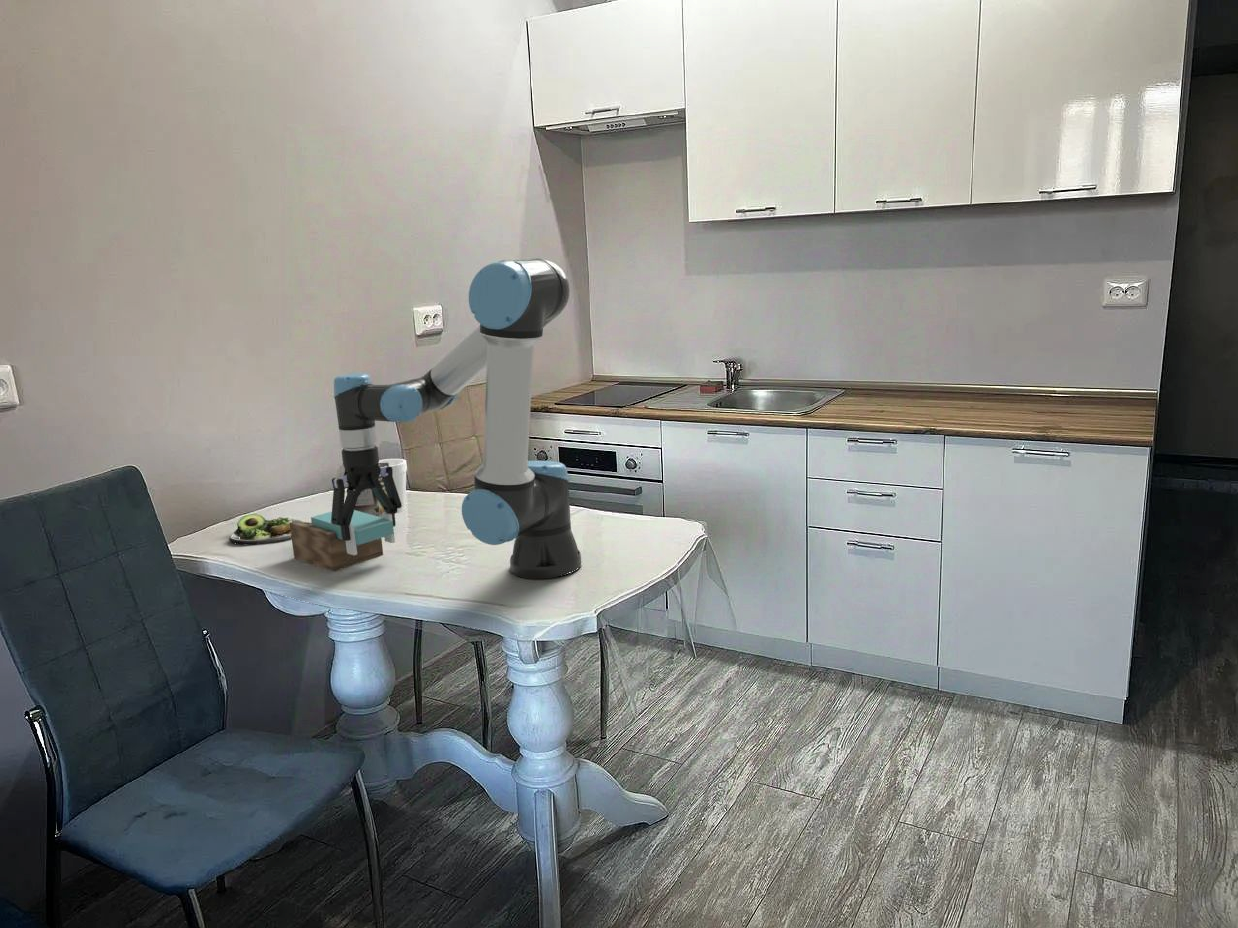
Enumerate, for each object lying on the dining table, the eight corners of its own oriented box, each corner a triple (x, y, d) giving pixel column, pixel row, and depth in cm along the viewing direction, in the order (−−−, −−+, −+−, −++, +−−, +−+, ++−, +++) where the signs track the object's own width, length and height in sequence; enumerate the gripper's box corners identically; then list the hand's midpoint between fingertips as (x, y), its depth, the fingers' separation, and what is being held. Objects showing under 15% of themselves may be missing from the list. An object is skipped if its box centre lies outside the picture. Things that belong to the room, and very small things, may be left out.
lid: (393, 533, 204) (392, 520, 203) (358, 544, 198) (357, 531, 197) (347, 520, 216) (345, 507, 215) (312, 529, 209) (310, 517, 208)
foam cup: (399, 503, 256) (394, 457, 253) (417, 508, 249) (412, 461, 246) (368, 511, 250) (363, 464, 247) (386, 516, 243) (381, 468, 240)
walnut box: (383, 554, 212) (379, 519, 210) (333, 571, 203) (328, 534, 201) (343, 543, 223) (339, 508, 221) (294, 558, 213) (289, 522, 211)
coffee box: (380, 534, 228) (373, 470, 224) (356, 534, 229) (348, 470, 226) (396, 523, 237) (389, 461, 233) (372, 523, 238) (365, 462, 234)
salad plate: (320, 521, 244) (318, 504, 243) (307, 541, 226) (305, 523, 225) (243, 527, 241) (241, 510, 240) (225, 548, 224) (222, 530, 223)
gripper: (391, 435, 208) (401, 532, 213) (303, 455, 192) (317, 558, 197) (411, 439, 203) (422, 537, 208) (324, 459, 187) (337, 564, 193)
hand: (371, 547), depth 203 cm, fingers closed on lid, 9 cm apart
